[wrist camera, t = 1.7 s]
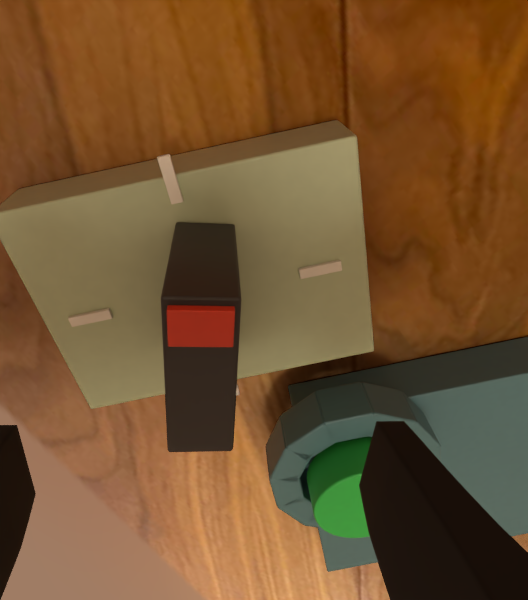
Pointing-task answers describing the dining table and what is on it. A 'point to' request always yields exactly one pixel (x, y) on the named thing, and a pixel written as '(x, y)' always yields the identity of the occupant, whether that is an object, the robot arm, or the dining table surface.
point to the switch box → (415, 431)
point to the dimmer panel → (157, 243)
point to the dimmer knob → (201, 337)
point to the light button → (339, 488)
